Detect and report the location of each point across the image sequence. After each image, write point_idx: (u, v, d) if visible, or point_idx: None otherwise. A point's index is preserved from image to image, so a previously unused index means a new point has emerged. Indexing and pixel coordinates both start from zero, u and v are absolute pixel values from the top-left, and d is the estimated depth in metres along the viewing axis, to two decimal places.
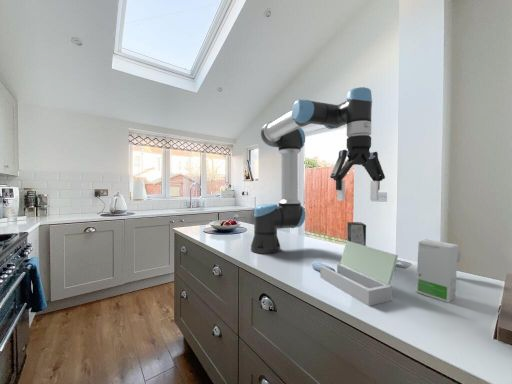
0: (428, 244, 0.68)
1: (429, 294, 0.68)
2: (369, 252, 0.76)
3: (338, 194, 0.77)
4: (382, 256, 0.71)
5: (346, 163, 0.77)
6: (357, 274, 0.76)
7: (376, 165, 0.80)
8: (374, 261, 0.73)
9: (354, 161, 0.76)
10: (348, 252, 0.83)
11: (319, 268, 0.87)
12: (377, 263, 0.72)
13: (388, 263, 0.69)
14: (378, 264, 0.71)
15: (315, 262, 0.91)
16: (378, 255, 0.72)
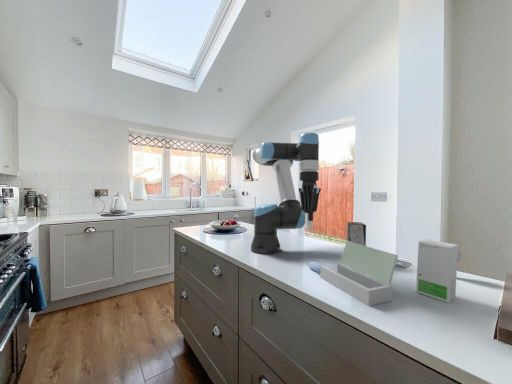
0: (428, 244, 0.68)
1: (429, 294, 0.68)
2: (369, 252, 0.76)
3: None
4: (382, 256, 0.71)
5: None
6: (357, 274, 0.76)
7: None
8: (374, 261, 0.73)
9: (303, 193, 0.97)
10: (348, 252, 0.83)
11: (317, 272, 0.87)
12: (377, 263, 0.72)
13: (388, 263, 0.69)
14: (378, 264, 0.71)
15: (310, 266, 0.90)
16: (378, 255, 0.72)
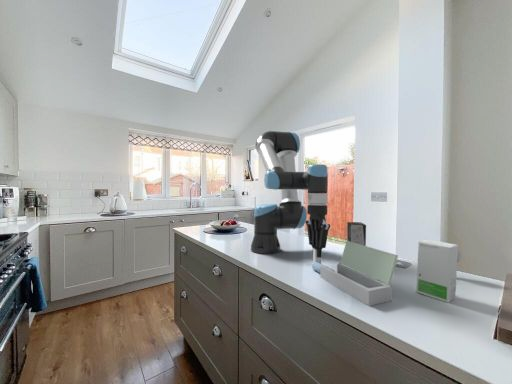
0: (428, 244, 0.68)
1: (429, 294, 0.68)
2: (369, 252, 0.76)
3: None
4: (382, 256, 0.71)
5: None
6: (357, 274, 0.76)
7: None
8: (374, 261, 0.73)
9: (311, 227, 0.92)
10: (348, 252, 0.83)
11: None
12: (377, 263, 0.72)
13: (388, 263, 0.69)
14: (378, 264, 0.71)
15: (314, 266, 0.88)
16: (378, 255, 0.72)
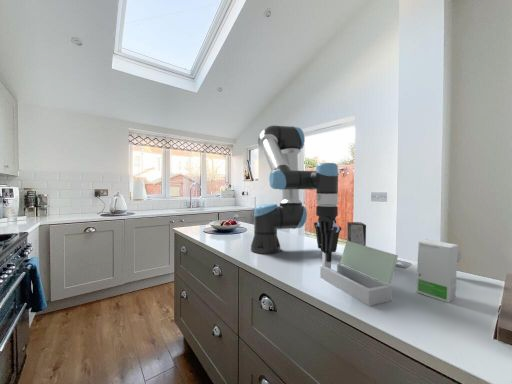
0: (428, 244, 0.68)
1: (429, 294, 0.68)
2: (369, 252, 0.76)
3: None
4: (382, 256, 0.71)
5: None
6: (357, 274, 0.76)
7: None
8: (374, 261, 0.73)
9: (320, 230, 0.86)
10: (348, 252, 0.83)
11: None
12: (377, 263, 0.72)
13: (388, 263, 0.69)
14: (378, 264, 0.71)
15: None
16: (378, 255, 0.72)
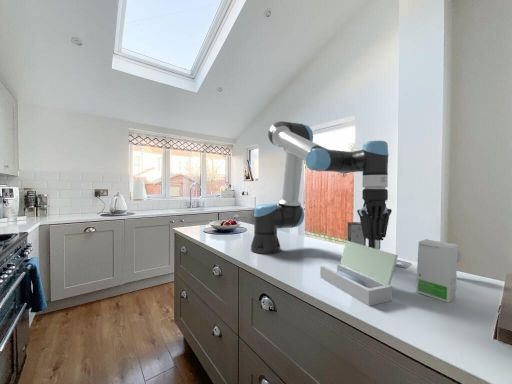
0: (428, 244, 0.68)
1: (429, 294, 0.68)
2: (369, 252, 0.76)
3: None
4: (382, 256, 0.71)
5: (368, 219, 0.78)
6: (357, 274, 0.76)
7: (384, 221, 0.78)
8: (374, 261, 0.73)
9: (376, 216, 0.76)
10: (348, 252, 0.83)
11: None
12: (377, 263, 0.72)
13: (388, 263, 0.69)
14: (378, 264, 0.71)
15: (341, 272, 0.79)
16: (378, 255, 0.72)
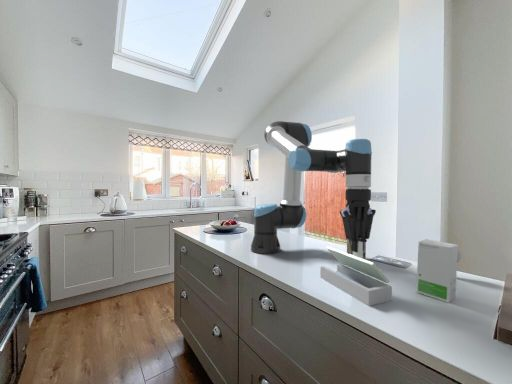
0: (428, 244, 0.68)
1: (429, 294, 0.68)
2: (351, 259, 0.73)
3: (354, 255, 0.76)
4: (363, 264, 0.69)
5: (351, 220, 0.75)
6: (357, 274, 0.76)
7: (368, 222, 0.76)
8: (361, 266, 0.71)
9: (358, 217, 0.73)
10: (337, 256, 0.82)
11: None
12: (366, 268, 0.70)
13: (373, 269, 0.67)
14: (366, 269, 0.70)
15: None
16: (360, 262, 0.70)
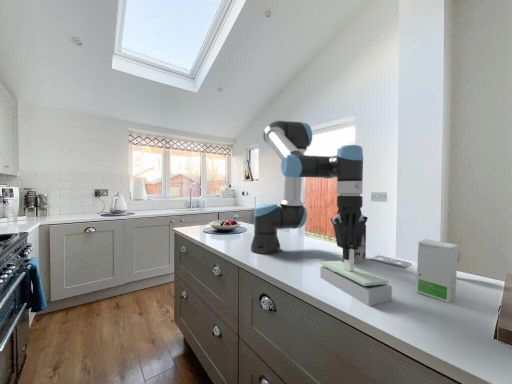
0: (428, 244, 0.68)
1: (429, 294, 0.68)
2: None
3: (345, 262, 0.75)
4: None
5: (343, 227, 0.74)
6: None
7: (359, 229, 0.75)
8: None
9: (350, 225, 0.72)
10: None
11: None
12: None
13: None
14: None
15: None
16: None
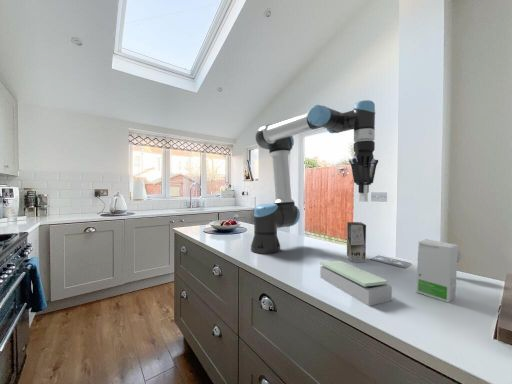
0: (428, 244, 0.68)
1: (429, 294, 0.68)
2: None
3: (360, 196, 0.93)
4: None
5: (358, 167, 0.92)
6: None
7: (372, 169, 0.93)
8: None
9: (364, 164, 0.90)
10: None
11: None
12: None
13: None
14: None
15: None
16: None
